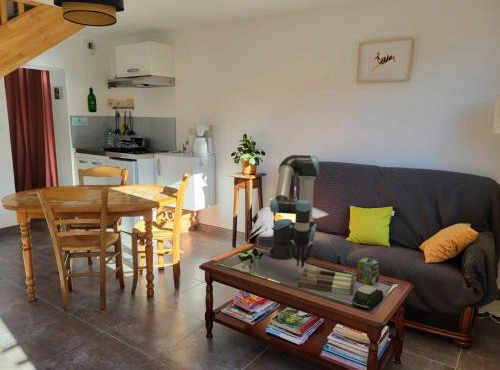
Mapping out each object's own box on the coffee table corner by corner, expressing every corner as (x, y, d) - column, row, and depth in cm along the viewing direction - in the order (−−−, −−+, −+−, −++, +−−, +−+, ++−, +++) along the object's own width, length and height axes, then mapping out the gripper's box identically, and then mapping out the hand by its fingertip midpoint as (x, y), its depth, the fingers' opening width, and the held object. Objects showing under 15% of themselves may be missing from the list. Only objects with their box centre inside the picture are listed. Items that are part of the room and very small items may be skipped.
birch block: (308, 273, 208) (308, 266, 207) (316, 275, 206) (317, 267, 206) (307, 277, 203) (307, 268, 203) (315, 278, 202) (316, 270, 201)
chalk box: (363, 276, 214) (365, 251, 212) (379, 281, 208) (381, 255, 205) (355, 280, 208) (357, 254, 205) (370, 286, 201) (373, 259, 199)
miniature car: (384, 299, 186) (385, 283, 185) (368, 312, 173) (369, 295, 171) (366, 293, 192) (368, 278, 191) (350, 305, 178) (351, 289, 177)
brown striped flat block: (304, 273, 216) (305, 263, 215) (353, 280, 208) (354, 269, 207) (298, 287, 197) (298, 276, 196) (352, 295, 189) (352, 283, 188)
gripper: (288, 229, 201) (286, 272, 205) (313, 232, 197) (310, 276, 201) (291, 226, 208) (289, 267, 212) (315, 229, 204) (313, 271, 208)
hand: (300, 271), depth 206 cm, fingers closed
